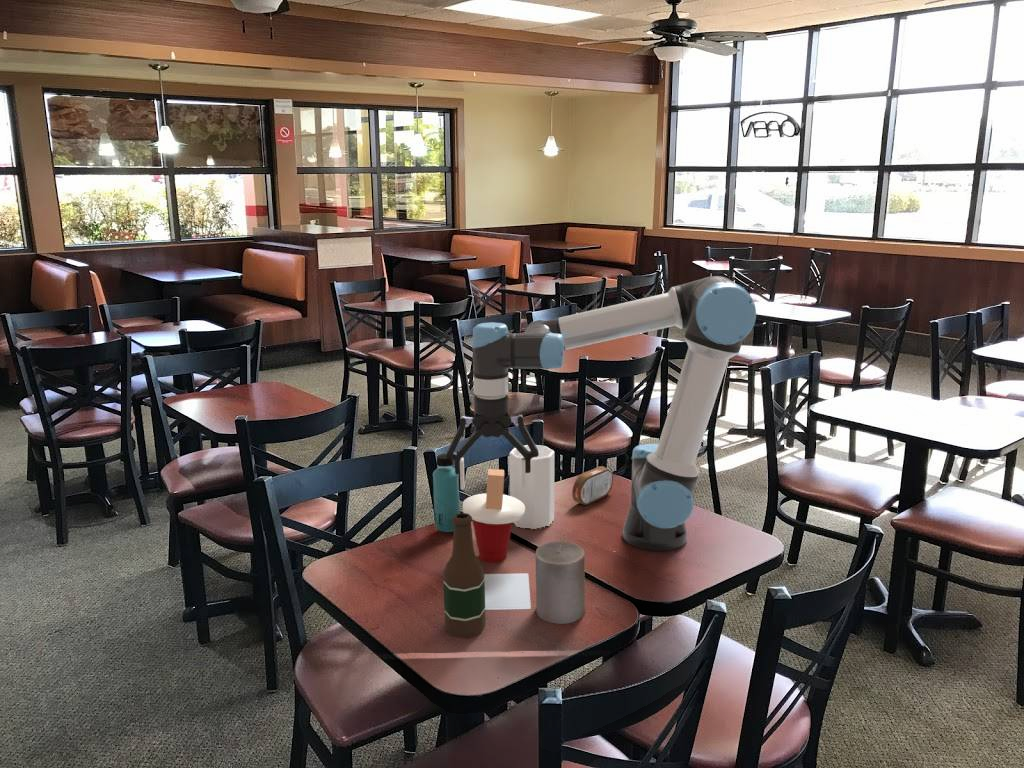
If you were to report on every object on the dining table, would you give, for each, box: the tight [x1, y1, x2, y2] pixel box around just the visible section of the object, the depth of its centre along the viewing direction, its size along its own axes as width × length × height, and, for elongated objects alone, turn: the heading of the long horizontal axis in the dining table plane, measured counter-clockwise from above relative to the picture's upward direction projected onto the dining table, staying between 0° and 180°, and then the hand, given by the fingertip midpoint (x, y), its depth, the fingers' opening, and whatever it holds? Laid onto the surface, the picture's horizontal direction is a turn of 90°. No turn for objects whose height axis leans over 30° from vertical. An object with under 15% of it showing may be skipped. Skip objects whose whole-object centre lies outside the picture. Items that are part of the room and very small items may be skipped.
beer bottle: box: [442, 512, 486, 640], centre depth 154 cm, size 8×8×24 cm
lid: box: [461, 468, 525, 524], centre depth 182 cm, size 14×14×9 cm
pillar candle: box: [535, 541, 586, 625], centre depth 161 cm, size 10×10×15 cm
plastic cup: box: [472, 520, 514, 563], centre depth 185 cm, size 11×11×12 cm
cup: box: [508, 444, 555, 530], centre depth 205 cm, size 11×11×18 cm
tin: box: [571, 465, 614, 506], centre depth 219 cm, size 15×3×8 cm, turn 136°
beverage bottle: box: [432, 453, 461, 533], centre depth 198 cm, size 6×7×20 cm
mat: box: [484, 572, 532, 611], centre depth 171 cm, size 15×15×1 cm
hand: (493, 486), depth 182 cm, fingers open, 13 cm apart
